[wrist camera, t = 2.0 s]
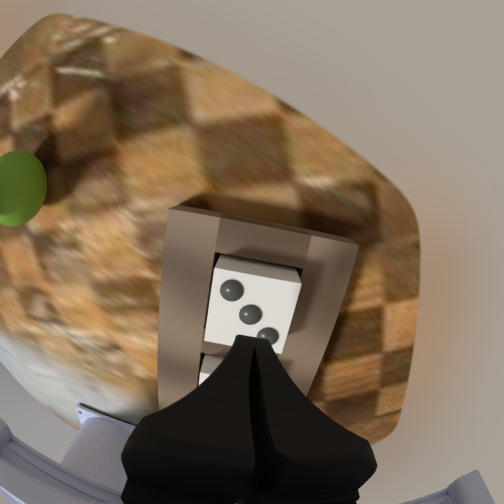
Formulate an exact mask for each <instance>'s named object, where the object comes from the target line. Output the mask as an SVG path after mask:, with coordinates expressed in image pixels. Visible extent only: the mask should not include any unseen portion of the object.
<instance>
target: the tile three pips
mask: <svg viewBox="0 0 504 504" xmlns="http://www.w3.org/2000/svg"><path fill="white" fill-rule="evenodd" d="M301 284H302V283H301V281H300V278H299V276H298V273H297V270H296V268H293V267H288V266H282V265H277V264H272V263H266V262H261V261H256V260H250V259H245V258H240V257H234V256H229V255H224V254H220V257H219V259H218V261H217V263H216V266H215V268H214V275H213V281H212V288H211V295H210V302H209V309H208V316H207V323H206V330H205V338H204V341H208V342H213V343H218V344H224V345H229V346H232V345H233V343H234V340H235V336H237V335H238V334H240V335H245V336H251V337H257V338H263V339H268V340H269V341H270V343H271V345H272V347H273V349H274V351H275V353H279V354H282V350H283V347H284V344H285V340H286V337H287V334H288V330H289V327H290V324H291V320H292V317H293V313H294V310H295V306H296V302H297V299H298V295H299V292H300V288H301Z"/></svg>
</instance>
